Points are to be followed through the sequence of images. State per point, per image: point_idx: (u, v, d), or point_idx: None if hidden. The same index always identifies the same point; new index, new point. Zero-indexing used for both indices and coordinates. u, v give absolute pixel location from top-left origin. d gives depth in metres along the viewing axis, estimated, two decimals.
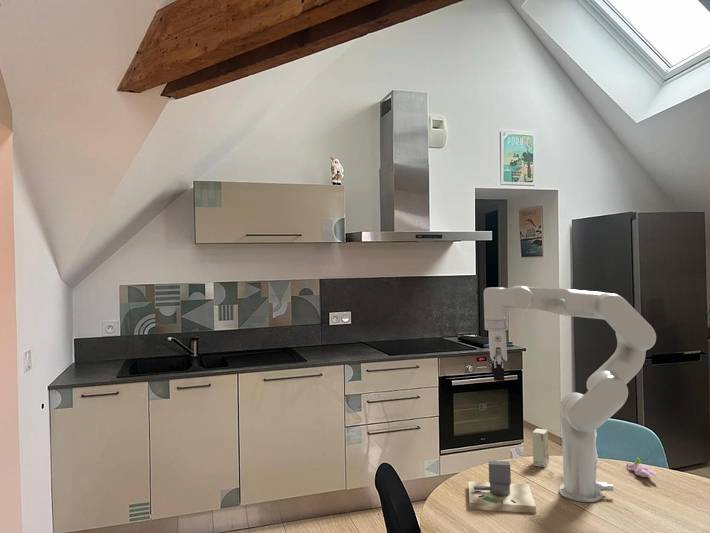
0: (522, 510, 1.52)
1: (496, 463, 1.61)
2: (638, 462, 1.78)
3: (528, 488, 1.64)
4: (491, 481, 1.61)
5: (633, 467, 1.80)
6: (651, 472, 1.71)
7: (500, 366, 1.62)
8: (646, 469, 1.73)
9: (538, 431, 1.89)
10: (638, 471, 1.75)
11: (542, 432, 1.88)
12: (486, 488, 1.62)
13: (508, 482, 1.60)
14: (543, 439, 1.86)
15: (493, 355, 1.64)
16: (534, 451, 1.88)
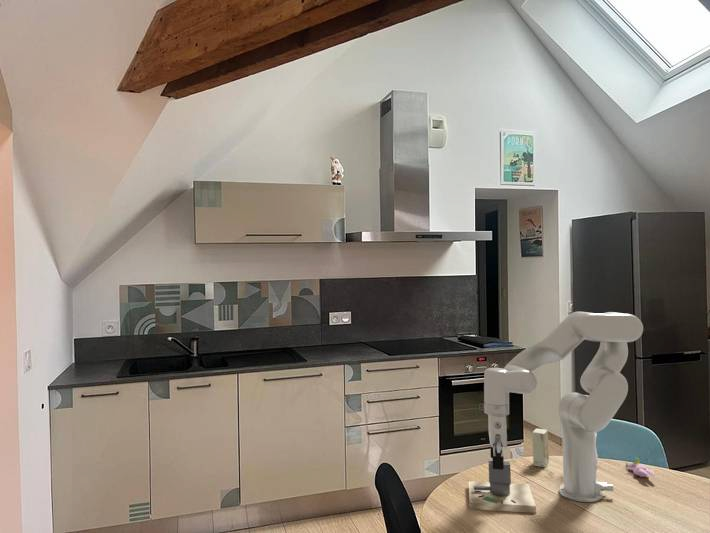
0: (522, 510, 1.52)
1: None
2: (637, 462, 1.78)
3: (528, 488, 1.64)
4: (491, 481, 1.61)
5: (632, 467, 1.80)
6: (649, 472, 1.71)
7: (499, 455, 1.55)
8: (644, 469, 1.74)
9: (538, 431, 1.89)
10: (636, 471, 1.75)
11: (542, 432, 1.88)
12: (486, 488, 1.62)
13: (508, 482, 1.60)
14: (543, 439, 1.86)
15: (492, 442, 1.57)
16: (534, 451, 1.88)
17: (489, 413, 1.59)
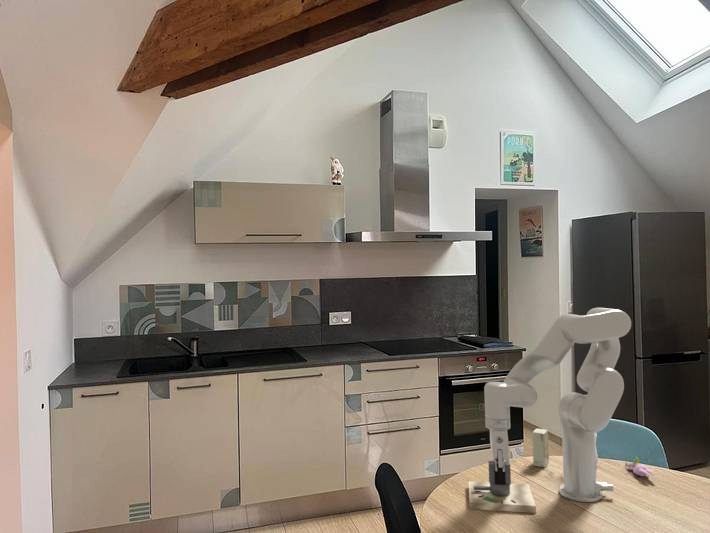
0: (522, 510, 1.52)
1: None
2: (636, 461, 1.78)
3: (528, 488, 1.64)
4: (491, 481, 1.61)
5: (632, 466, 1.80)
6: (649, 471, 1.72)
7: (501, 470, 1.58)
8: (644, 468, 1.74)
9: (538, 431, 1.89)
10: (636, 470, 1.75)
11: (542, 432, 1.88)
12: (486, 488, 1.62)
13: (508, 482, 1.60)
14: (543, 439, 1.86)
15: (494, 457, 1.57)
16: (534, 451, 1.88)
17: (490, 428, 1.59)
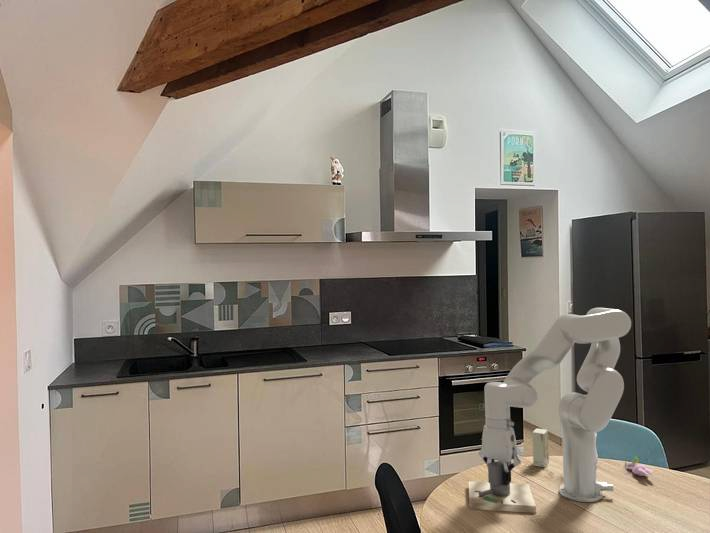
0: (522, 510, 1.52)
1: (498, 464, 1.61)
2: (636, 461, 1.79)
3: (528, 488, 1.64)
4: (496, 483, 1.59)
5: (631, 466, 1.81)
6: (648, 471, 1.72)
7: (512, 468, 1.59)
8: (643, 468, 1.74)
9: (538, 431, 1.89)
10: (635, 470, 1.76)
11: (542, 432, 1.88)
12: (490, 491, 1.59)
13: None
14: (543, 439, 1.86)
15: (511, 456, 1.57)
16: (534, 451, 1.88)
17: (502, 429, 1.58)
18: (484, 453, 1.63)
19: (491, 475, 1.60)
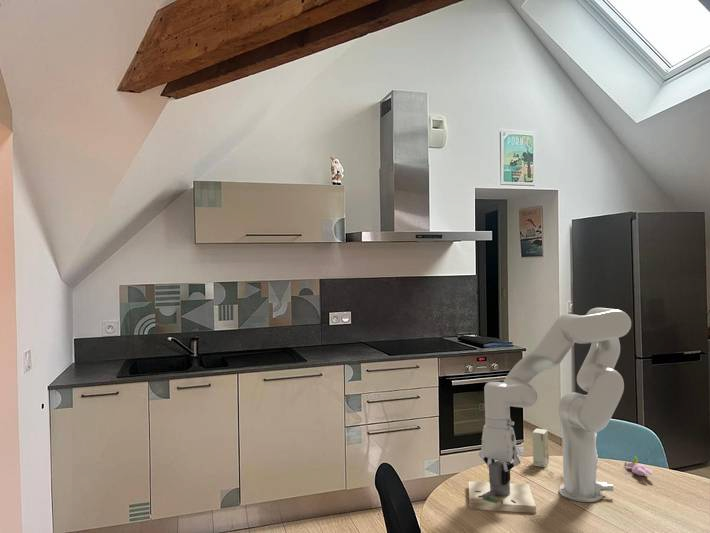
0: (522, 510, 1.52)
1: (499, 464, 1.61)
2: (635, 461, 1.79)
3: (528, 488, 1.64)
4: (498, 483, 1.59)
5: (630, 466, 1.81)
6: (647, 471, 1.72)
7: (511, 468, 1.59)
8: (643, 468, 1.75)
9: (538, 431, 1.89)
10: (635, 470, 1.76)
11: (542, 432, 1.88)
12: (493, 492, 1.58)
13: None
14: (543, 439, 1.86)
15: (511, 456, 1.57)
16: (534, 451, 1.88)
17: (503, 429, 1.58)
18: (484, 453, 1.63)
19: (493, 476, 1.60)
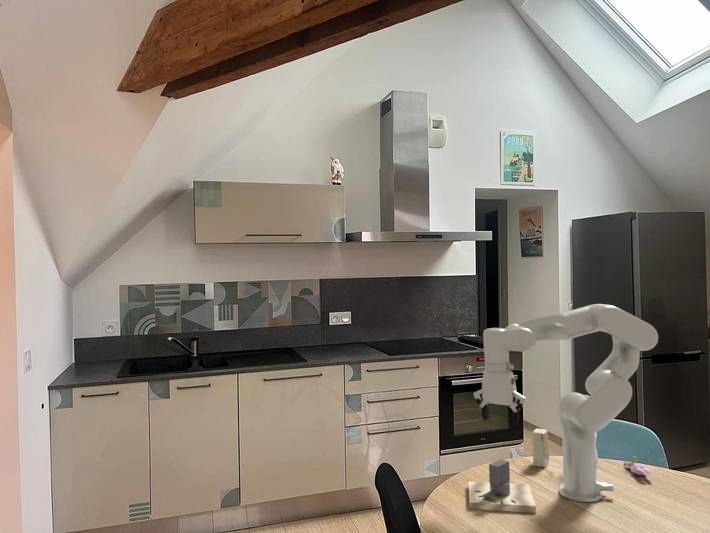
0: (522, 510, 1.52)
1: (499, 464, 1.61)
2: (634, 460, 1.79)
3: (528, 488, 1.64)
4: (499, 483, 1.59)
5: (630, 465, 1.81)
6: (646, 470, 1.73)
7: (520, 408, 1.60)
8: (642, 467, 1.75)
9: (538, 431, 1.89)
10: (634, 469, 1.76)
11: (542, 432, 1.88)
12: (493, 492, 1.58)
13: (508, 479, 1.62)
14: (543, 439, 1.86)
15: (512, 399, 1.59)
16: (534, 451, 1.88)
17: (503, 372, 1.60)
18: (484, 399, 1.64)
19: (493, 476, 1.60)
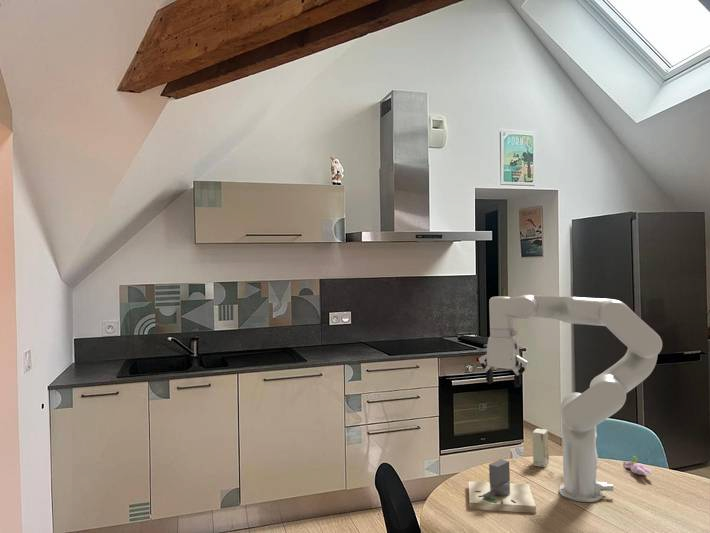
0: (522, 510, 1.52)
1: (499, 464, 1.61)
2: (634, 460, 1.80)
3: (528, 488, 1.64)
4: (499, 483, 1.59)
5: (629, 465, 1.82)
6: (646, 470, 1.73)
7: (522, 372, 1.68)
8: (642, 467, 1.75)
9: (538, 431, 1.89)
10: (634, 469, 1.77)
11: (542, 432, 1.88)
12: (493, 492, 1.58)
13: (508, 479, 1.62)
14: (543, 439, 1.86)
15: (515, 363, 1.68)
16: (534, 451, 1.88)
17: (506, 337, 1.69)
18: (489, 363, 1.73)
19: (493, 476, 1.60)
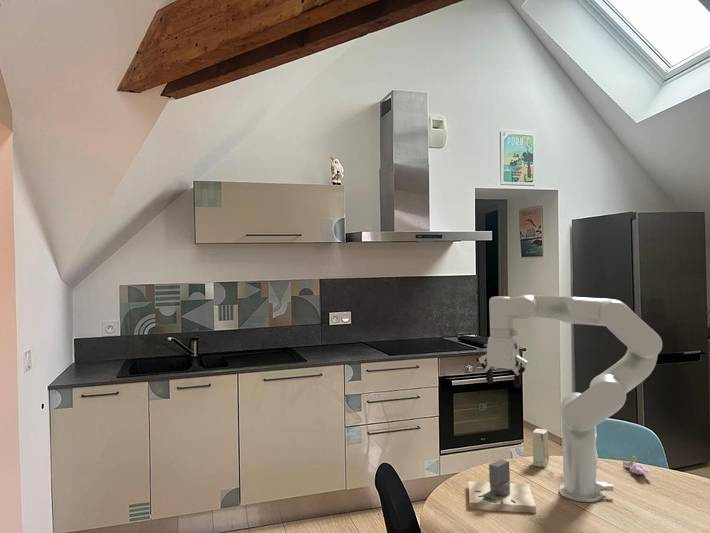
0: (522, 510, 1.52)
1: (499, 464, 1.61)
2: (633, 460, 1.80)
3: (528, 488, 1.64)
4: (499, 483, 1.59)
5: (629, 465, 1.82)
6: (645, 470, 1.73)
7: (522, 372, 1.68)
8: (641, 467, 1.76)
9: (538, 431, 1.89)
10: (633, 468, 1.77)
11: (542, 432, 1.88)
12: (493, 492, 1.58)
13: (508, 479, 1.62)
14: (543, 439, 1.86)
15: (515, 363, 1.68)
16: (534, 451, 1.88)
17: (506, 337, 1.69)
18: (489, 363, 1.73)
19: (493, 476, 1.60)
